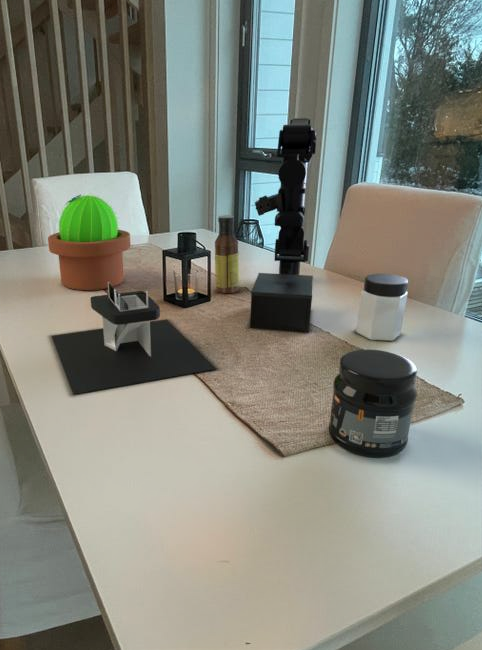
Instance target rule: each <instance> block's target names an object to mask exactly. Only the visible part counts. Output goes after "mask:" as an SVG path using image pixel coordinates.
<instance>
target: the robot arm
mask: <svg viewBox="0 0 482 650" xmlns="http://www.w3.org/2000/svg"><path fill="white" fill-rule="evenodd" d="M312 126H313V125H312V124H311V119H310V118H308V117H299V118H296V117H295V118H292V119H290V123H289V124H283V125H282V129H280V130H279V132H278V133H279V134H278V142H277V151H276V158H283V160H282V162H281V166H280V167H279V171H278V174H277V175H278V180H279V182H280V187H279V188H278V191H277V193H276V194H272V195H269V196H267V195H264V196H260V197H259V198H258V200H256V201H255V202H254V206H255V210H256V212H257V216H259V217H260V216H263V215H265V214H266V213H269V212H272V211H276V212H277V213H276V214H275V216H274V226H275V227H279V228H280V229H279V231H278V237H277V238H276V239H275V243H274V262H279V264H278V265H279V266H278V274H291V275H300V271H301V263H306V262H308V261H309V252H310V245H309V244H308V240H307V239H305V238H306V234H305V233H306V232H305V230H304V228H303V226H304V220H305V216H306V205H305V199H306V186H307V175H308V168H309V167H310V165H311V164H312V159H313V155H315V154H316V150H317V139H318V135H317V131H316V130H315V129H314V128H313V127H312Z"/></svg>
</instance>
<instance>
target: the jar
mask: <svg viewBox="0 0 482 650" xmlns="http://www.w3.org/2000/svg"><path fill="white" fill-rule="evenodd" d="M408 283H409V280H408V279H407V278H406V277H403V276H400V275H397V274H389V273H373V274H369V275H366V276H365V278H364V284H363V289H362V290H361V292H360V300H359V308H358V315H357V321H356V323H357V324H356V330H355V331H356V333H357V334H359V335H361V336H363V337H365V338H366V339H368V340H370V341H388V342H389V341H390V342H393V341H395V340H396V339H397V338H398V337H400V335H401V333H402V329H403V321H404V316H405V310H406V304H407V300H408V299H407V298H408V291H407V290H408V285H409V284H408Z"/></svg>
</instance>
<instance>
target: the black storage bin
mask: <svg viewBox="0 0 482 650" xmlns="http://www.w3.org/2000/svg"><path fill="white" fill-rule="evenodd" d="M250 297H251V298H250V314H249V315H250V317H249V328H250V329H255V330H256V329H257V330H269V331H270V330H271V331H282V332H293V333H294V332H295V333H308V334H309V333H310V324H311V323H310V322H311V314H312V304H313V303H312V302H313V298H312V299H303V298H287V297H271V296H255V295H251V294H250Z"/></svg>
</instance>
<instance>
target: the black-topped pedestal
mask: <svg viewBox="0 0 482 650" xmlns="http://www.w3.org/2000/svg"><path fill="white" fill-rule="evenodd" d="M107 291H108V292H107V293H108V294H102V295H101V294H100V295H94V296H91V297H90V298H89V299H90V307H91V309H92V310H93V311H94V312H96V313H97V314H98V315H100V316H101V318H102V328H96V329H90V330H83V331H75V332H68V333H60V334H54V335H53V334H52V335H51V338H52V341H53V344H54V347H55V350H56V352H57V355H58V357H59V358H58V359H59V361H60V364H61V365H62V366H61V367H62V368H63V372H64V374H65V377H66V379H67V382H68V385H69V388H70V390H71V393H72V395H76V394H82V393H83V394H84V393H88V392H94V391H99V390H100V391H101V390H104V389H105V390H106V389H112V388H116V387H122V386H128V385H133V384H138V383H143V382H150V381H156V380H162V379H167V378H172V377H177V376H184V375H189V374H195V373H201V372H206V371H211V370H217V367H216V366H214V364H213V363H211V362H210V360H208V358H206V357H205V355H204V354H202V353H201V352H200V350H198V349H197V348H196V347H195V346H194V345H193V344H192V343H191V342H190V341H189V340H188V339H187V338H186V337H185V336H184V334H182V333H181V332H180V331H179V330H178V329H177V328H176V327H175V326H174V325H173V324H172V322H171V321H169V320H168V319H160V320H158V319H159V318H161V310H160V309H161V307H160V305H159V304H158V303H156V302H155V300H153V299H152V297H150V296H149V292H148V290H146V291H143V290H135V291H125V292H118V291H117V289H114V287H112V286H111V285H110V284H109V282H108V288H107Z"/></svg>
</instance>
